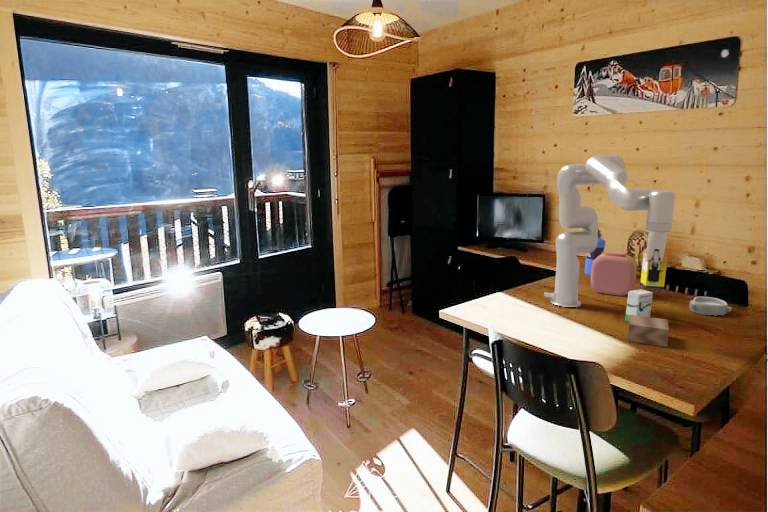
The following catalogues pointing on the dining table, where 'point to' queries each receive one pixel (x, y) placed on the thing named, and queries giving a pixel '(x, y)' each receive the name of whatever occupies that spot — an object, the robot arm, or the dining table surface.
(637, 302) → the ink box
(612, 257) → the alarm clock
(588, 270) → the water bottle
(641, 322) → the walnut block
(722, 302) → the dish
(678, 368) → the dining table surface
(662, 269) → the supplement box
